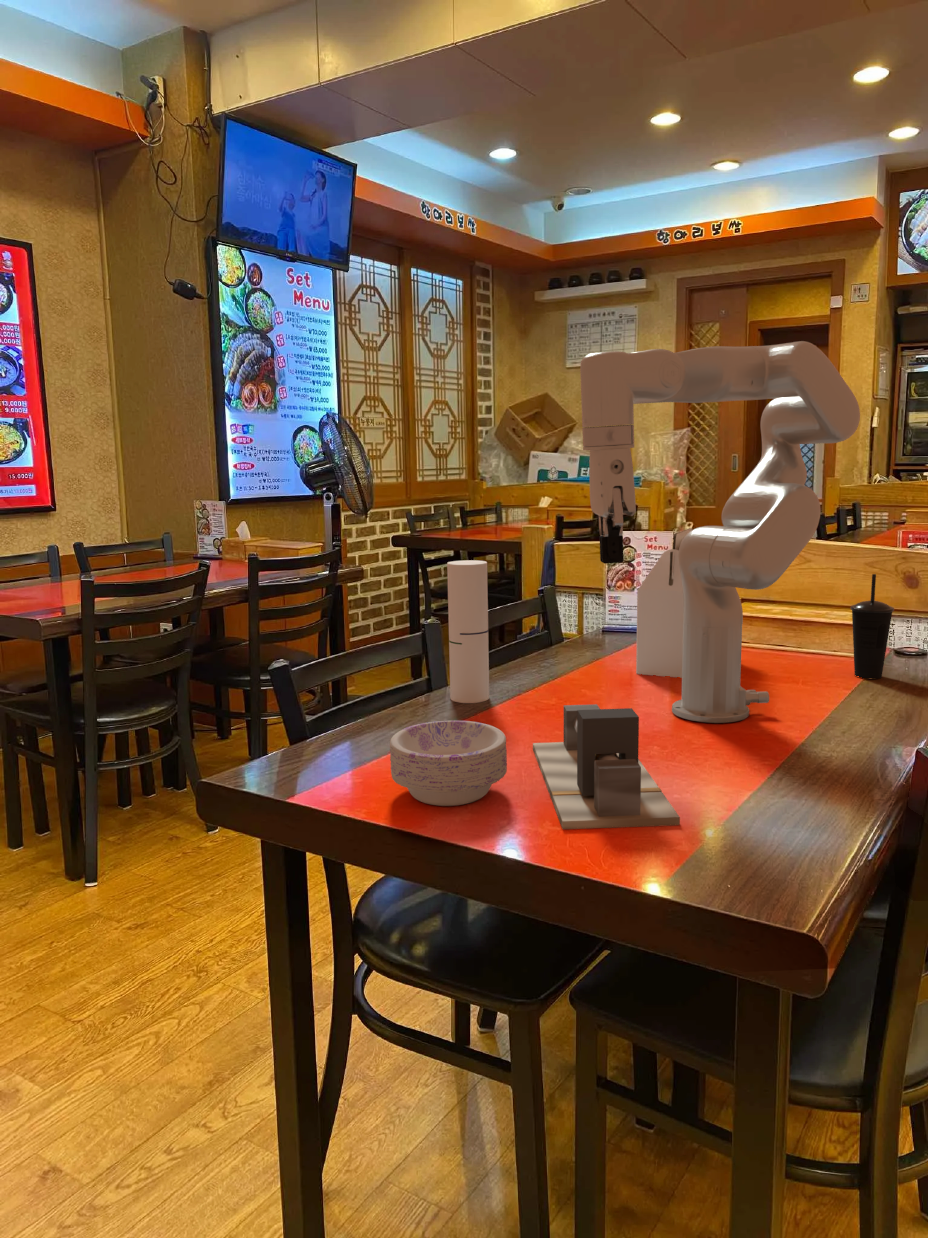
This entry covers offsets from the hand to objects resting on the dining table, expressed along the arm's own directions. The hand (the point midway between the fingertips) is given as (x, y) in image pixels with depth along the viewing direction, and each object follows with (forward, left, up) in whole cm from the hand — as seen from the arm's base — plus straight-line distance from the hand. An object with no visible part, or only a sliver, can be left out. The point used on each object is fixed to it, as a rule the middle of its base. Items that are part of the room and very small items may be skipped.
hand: (611, 562), depth 138 cm
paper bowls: (+26, +22, -28) cm, 44 cm away
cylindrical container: (+21, -26, -28) cm, 43 cm away
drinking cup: (-57, -33, -28) cm, 71 cm away
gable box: (-24, -47, -28) cm, 60 cm away
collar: (+6, +27, -26) cm, 38 cm away
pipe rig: (+6, +20, -28) cm, 35 cm away
